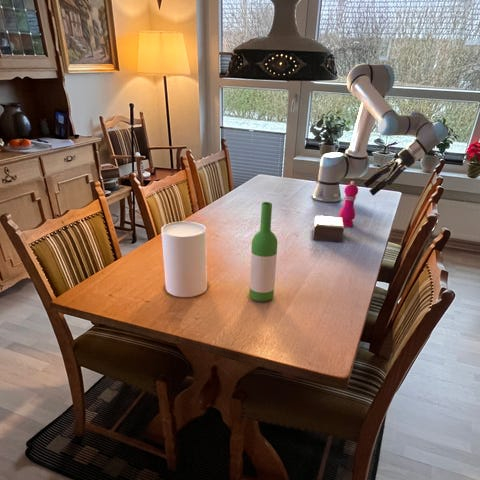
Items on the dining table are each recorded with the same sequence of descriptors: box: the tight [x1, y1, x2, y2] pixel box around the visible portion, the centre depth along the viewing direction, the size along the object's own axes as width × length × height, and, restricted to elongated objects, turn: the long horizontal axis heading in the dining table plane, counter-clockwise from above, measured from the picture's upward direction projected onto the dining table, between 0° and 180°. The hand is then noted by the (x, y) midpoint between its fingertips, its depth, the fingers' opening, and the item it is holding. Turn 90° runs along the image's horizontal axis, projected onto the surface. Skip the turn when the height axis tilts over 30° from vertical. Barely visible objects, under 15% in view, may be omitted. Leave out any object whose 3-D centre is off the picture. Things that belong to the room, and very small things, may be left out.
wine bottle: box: [249, 201, 278, 303], centre depth 124 cm, size 8×8×30 cm
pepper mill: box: [338, 180, 359, 228], centre depth 187 cm, size 7×7×20 cm
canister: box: [160, 220, 208, 298], centre depth 131 cm, size 14×14×20 cm
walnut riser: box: [312, 215, 345, 243], centre depth 177 cm, size 12×12×7 cm
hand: (367, 189), depth 183 cm, fingers open, 13 cm apart
